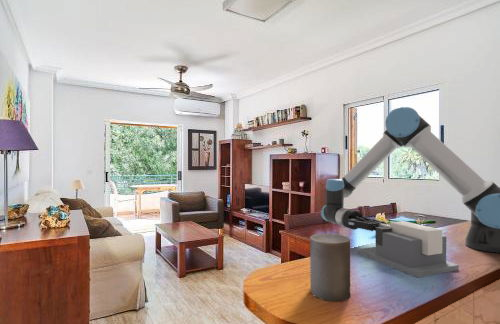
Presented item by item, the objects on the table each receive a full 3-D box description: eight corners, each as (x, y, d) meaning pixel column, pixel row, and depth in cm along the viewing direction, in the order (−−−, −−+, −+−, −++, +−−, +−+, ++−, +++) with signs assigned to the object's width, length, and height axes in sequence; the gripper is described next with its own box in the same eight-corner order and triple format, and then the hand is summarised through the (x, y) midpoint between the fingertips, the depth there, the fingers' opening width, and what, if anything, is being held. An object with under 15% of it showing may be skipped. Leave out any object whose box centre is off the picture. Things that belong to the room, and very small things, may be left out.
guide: (358, 253, 108) (358, 223, 108) (394, 248, 114) (394, 220, 114) (417, 277, 86) (417, 240, 86) (458, 269, 92) (458, 235, 92)
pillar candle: (357, 292, 76) (356, 232, 76) (339, 306, 69) (339, 239, 69) (321, 282, 82) (321, 226, 82) (302, 293, 75) (302, 232, 75)
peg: (389, 243, 102) (389, 222, 102) (403, 241, 104) (403, 221, 104) (427, 255, 89) (428, 231, 89) (442, 253, 91) (442, 229, 91)
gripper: (361, 226, 127) (410, 240, 106) (336, 229, 123) (380, 244, 101) (362, 208, 127) (410, 219, 105) (336, 210, 123) (381, 221, 101)
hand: (395, 231), depth 103 cm, fingers closed
